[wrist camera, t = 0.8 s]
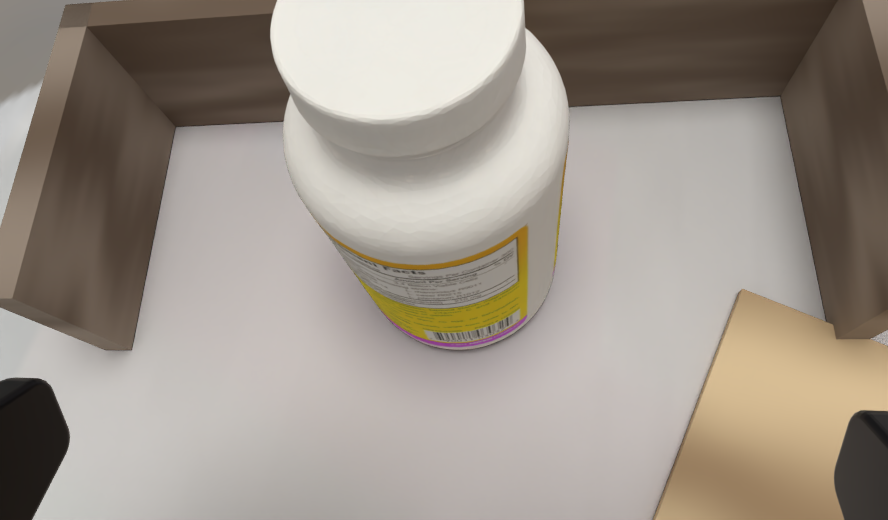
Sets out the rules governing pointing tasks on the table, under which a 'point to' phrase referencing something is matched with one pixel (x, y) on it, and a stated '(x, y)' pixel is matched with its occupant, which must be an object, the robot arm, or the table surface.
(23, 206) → the cubby
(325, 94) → the supplement bottle
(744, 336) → the coaster
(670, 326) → the table surface
